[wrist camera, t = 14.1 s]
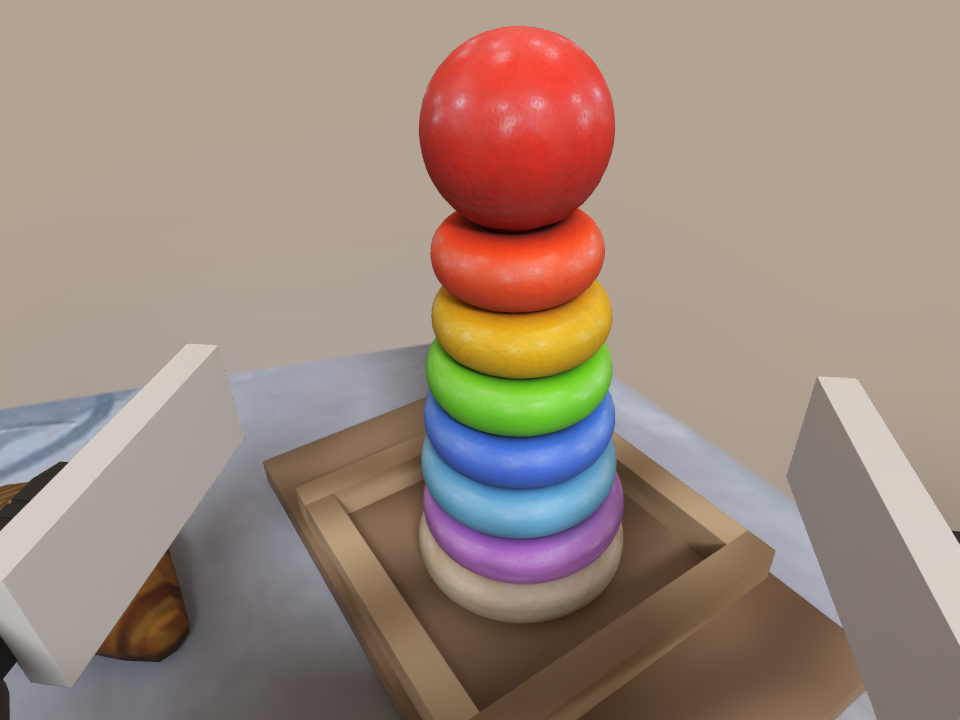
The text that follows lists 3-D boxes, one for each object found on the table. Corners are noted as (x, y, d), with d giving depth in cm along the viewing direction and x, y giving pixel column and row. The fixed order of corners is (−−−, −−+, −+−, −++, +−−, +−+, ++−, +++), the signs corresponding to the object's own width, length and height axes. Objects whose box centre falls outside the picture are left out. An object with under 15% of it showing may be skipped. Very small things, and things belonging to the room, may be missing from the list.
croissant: (255, 589, 26) (225, 500, 24) (103, 741, 21) (44, 651, 19) (58, 482, 32) (16, 400, 29) (-98, 582, 27) (-165, 495, 24)
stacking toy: (424, 482, 29) (377, 15, 19) (599, 474, 29) (645, 6, 19) (416, 640, 23) (337, 52, 12) (643, 629, 23) (747, 38, 13)
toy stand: (268, 480, 31) (256, 437, 30) (503, 384, 38) (502, 344, 36) (556, 992, 16) (560, 954, 14) (873, 681, 22) (899, 633, 21)
